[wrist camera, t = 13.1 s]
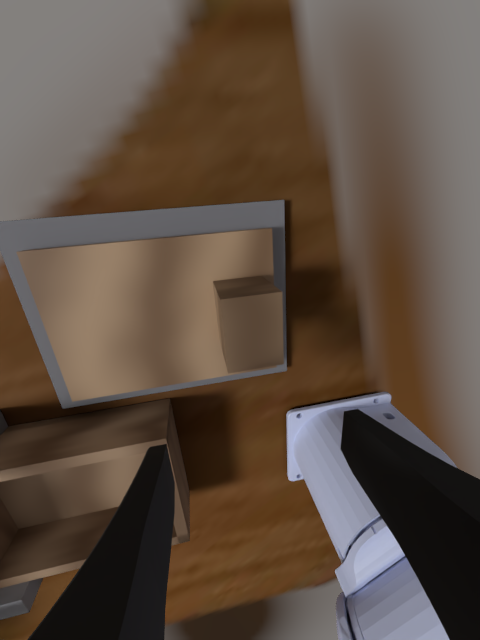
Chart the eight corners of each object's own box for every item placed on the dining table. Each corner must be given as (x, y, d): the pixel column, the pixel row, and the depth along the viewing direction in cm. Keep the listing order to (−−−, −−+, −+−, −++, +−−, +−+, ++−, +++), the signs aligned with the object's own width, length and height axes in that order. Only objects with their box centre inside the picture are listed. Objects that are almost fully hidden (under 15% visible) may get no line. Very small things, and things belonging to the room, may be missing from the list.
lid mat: (281, 200, 17) (284, 199, 16) (284, 367, 21) (286, 370, 21) (-5, 222, 14) (-11, 222, 14) (65, 404, 19) (62, 408, 18)
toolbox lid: (267, 227, 17) (298, 230, 12) (272, 360, 20) (298, 402, 15) (27, 249, 15) (-47, 263, 10) (78, 392, 18) (40, 451, 13)
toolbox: (166, 381, 20) (155, 466, 13) (191, 502, 24) (193, 610, 18) (-142, 432, 17) (-359, 573, 10) (-46, 557, 22) (-151, 709, 15)
